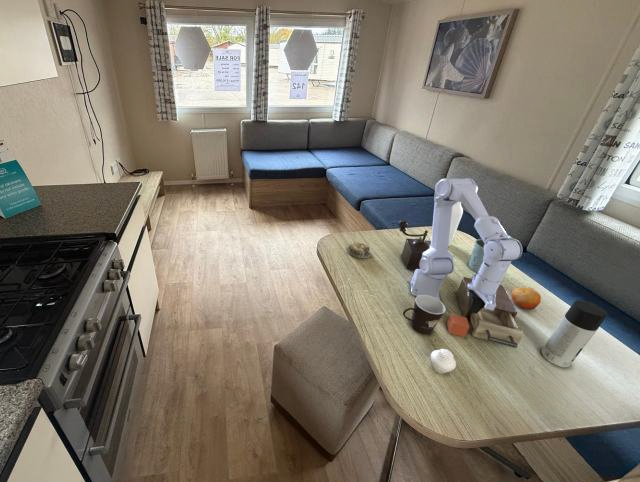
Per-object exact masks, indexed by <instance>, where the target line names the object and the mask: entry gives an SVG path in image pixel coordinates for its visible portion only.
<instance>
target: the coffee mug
mask: <svg viewBox="0 0 640 482" xmlns="http://www.w3.org/2000/svg"><path fill="white" fill-rule="evenodd" d="M446 309H447V308H446V306H445V304H444V303H443V302H442V301H441V299H440V300H438V299H436V298H434V297H432V296H428V295H419V296H416V297H415V299H414V303H413V307H409V308H406V309H404V311H403V313H402V315H403V318H405V319H406V320H408V321H410V327H411V328H412V330H414V331H415V332H416V333H418V334H420V335H424V336H429V335H431V334H432V332H433V331H434V329H435V328H436V326H437V325H438V323H439V322H440V320H441V318H442V317H443V315H444V314H445V312H446ZM409 311H412V314H411V318H410V317H408V316H406V313H407V312H409Z"/></svg>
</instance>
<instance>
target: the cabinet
mask: <svg viewBox="0 0 640 482" xmlns="http://www.w3.org/2000/svg"><path fill="white" fill-rule="evenodd" d="M468 284H472V279H471V277H466V276H463V277H462V279H461V281H460V283H459V286H458V287H457V291H456V296H457V299H458V303H459V306H460V309H461V312H462V317H466V318H467V321H470V322H471V319H470V316H469V314H470V312H469V310H468V306H469V290H468V289H469V288H468V286H467V285H468ZM495 304H496V307H495V310H499V311H503V312H508V313H511V314H512V316H513V319H514V320H515V319H516V317H517V315H518V314H519V312H518V311H517V309H516V307H515V305H514V302H513V300H512V298H511V296H510V295H509V293H508V291H507V289H506V288H505V285H504V284H500V285H499V287H498V289H497V291H496V298H495Z"/></svg>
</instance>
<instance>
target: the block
mask: <svg viewBox="0 0 640 482" xmlns="http://www.w3.org/2000/svg"><path fill="white" fill-rule="evenodd" d="M446 325H447V329H448V333H449V334H451V335H455V336H458V337H462V338H465V337H466V335H467V333H468V331H469V329H470V324H469V320H467V318H466V317H464V316H463V315H458V314H454V313H451V314H450V316H449V318H448V321H447V322H446Z"/></svg>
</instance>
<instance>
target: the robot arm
mask: <svg viewBox="0 0 640 482" xmlns="http://www.w3.org/2000/svg"><path fill="white" fill-rule="evenodd" d="M434 185H435V187H434V197H433V202H434V203H433V204H434V205H433V216H432V226H431V227H432V228H431V236H430V241H431V247H430V248H429V249H428V250H426V251H425V252H423V253H422V258H421V260H420V269H416V270H414V272H413V275H412V278H411V281H410V294H411V295H412V296H416V297H417V296H419V295H428V296H432V297H434V298H436V299H438V300H440V301H441V298H440V290H441V287H442V285H443V283H444V280H445V278H446V277H448V275H451V274H453V272H454V271H455V262H454V254H453V253H452V252H450V251H449V246H448V243H449V233H450V223H451V213H452V206H453V205H454V204H456V203H457V202H458V201H459V202H461V204H463V206H464V207H465V209H466V210H467V211H468V213H469V214H470V215H471V217H472V218H473V219H474V220H475V222H474V225H473V227H474V229H475V230H476V232H477V233H478V235H479V237H480V239H482V240H483V242H484V243H485V245H484V257H483V263H482V265H481V267H480V269H479V271H478V273H472V275H471V277H470V278H471V279H472V284H468V285H467V286H468V288H469V289H468V290H469V306H468V310H469V312H471V313H476V314H477V313H478V312H479V311H480V310H481V309H482V308H484V307H485V309H489V310H494V309H495V307H496V304H495V298H496V291H497V289H498V287H499V285H501V283H502V281H503V279H504V277H505V276H506V273H507V271H508V269H509V267H510V265H511V264H512V261H514V260H518V259H520V258H521V257H522V254H523V246H522V244H521V242H520V241H519V240H518V239H516V238H514V237H512V236H511V235H509V234H508V233H507V231H505V229H504V228H503V226H502V225H501V222H500V220H499V218H497V217H495V216H492V215H489V212H488V211H487V210H486V209H487V208H485V205H484V204H483V203H482V200H481V198H480V197H479V195H478V190H479V187H478V185H477V184H476V182H475V180H473V178H469V177H467V178H441V179H440V180H438V181H437V183H436V184H434Z"/></svg>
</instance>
